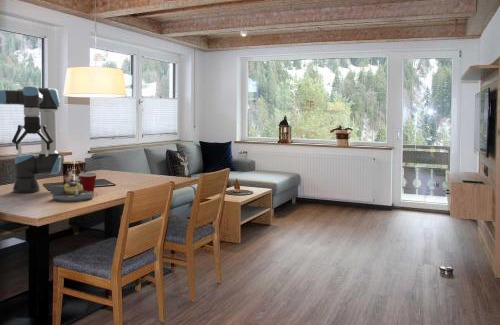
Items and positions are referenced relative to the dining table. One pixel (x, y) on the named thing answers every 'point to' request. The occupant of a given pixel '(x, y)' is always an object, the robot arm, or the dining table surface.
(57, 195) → the base plate
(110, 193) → the dining table surface
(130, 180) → the dining table surface
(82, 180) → the plastic cup
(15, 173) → the robot arm
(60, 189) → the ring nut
